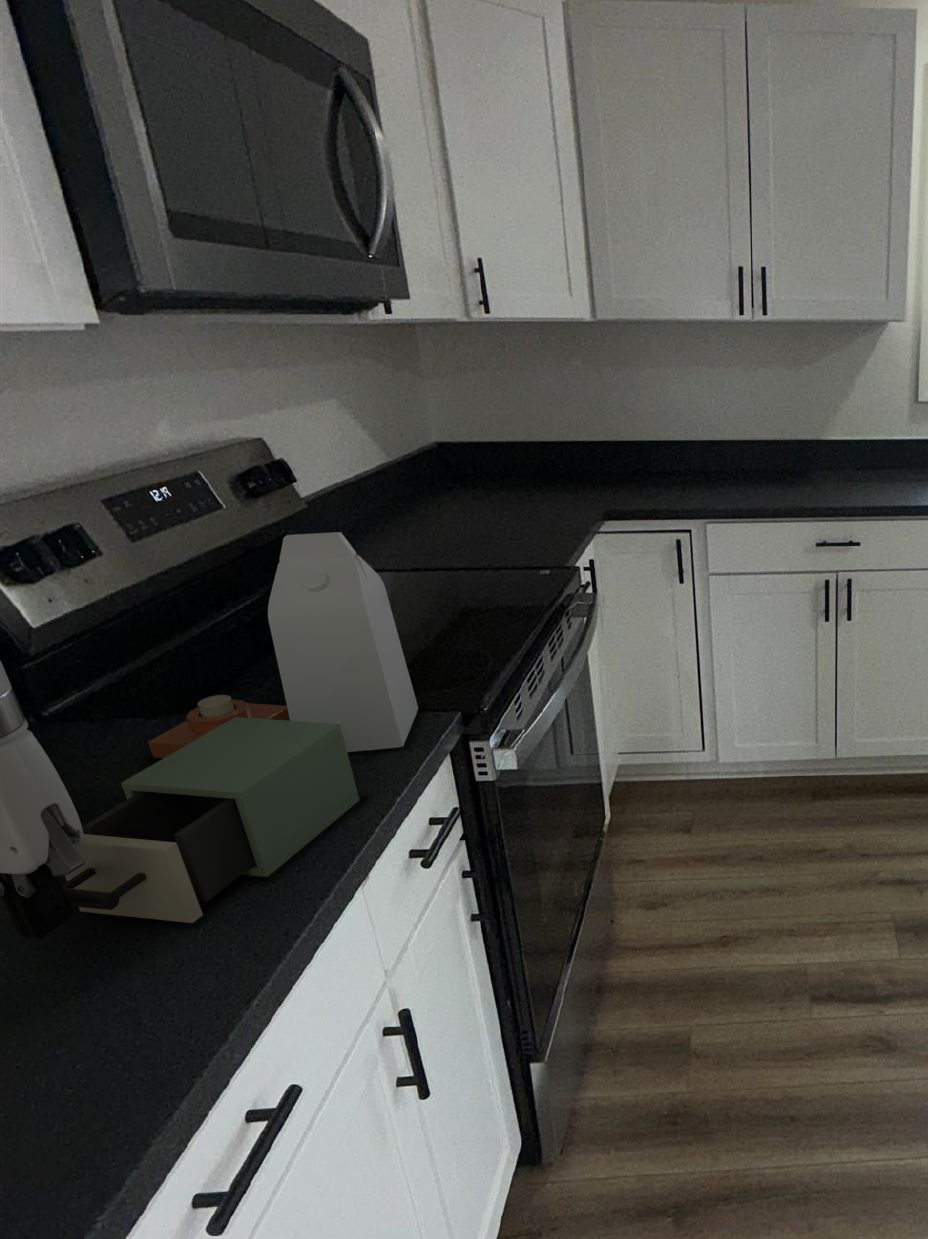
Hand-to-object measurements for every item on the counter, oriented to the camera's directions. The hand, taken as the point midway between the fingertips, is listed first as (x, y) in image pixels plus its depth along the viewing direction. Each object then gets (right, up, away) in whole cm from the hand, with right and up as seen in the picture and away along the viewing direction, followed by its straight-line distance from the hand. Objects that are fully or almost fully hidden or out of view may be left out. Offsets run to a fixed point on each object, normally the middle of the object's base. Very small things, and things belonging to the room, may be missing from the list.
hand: (48, 925), depth 71 cm
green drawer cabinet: (+3, +4, +22) cm, 23 cm away
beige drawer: (+2, +1, +12) cm, 12 cm away
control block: (-14, +13, +42) cm, 46 cm away
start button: (-14, +17, +40) cm, 46 cm away
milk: (+2, +14, +43) cm, 46 cm away
